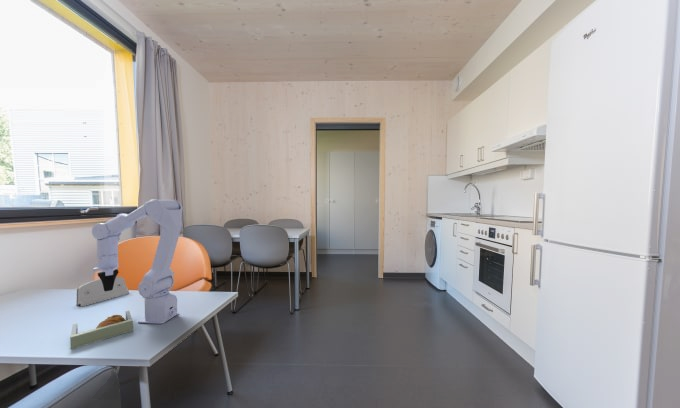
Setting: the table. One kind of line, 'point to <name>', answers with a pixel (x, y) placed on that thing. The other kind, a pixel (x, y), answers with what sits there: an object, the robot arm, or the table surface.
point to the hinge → (100, 291)
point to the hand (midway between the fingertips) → (108, 290)
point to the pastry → (111, 321)
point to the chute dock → (100, 332)
